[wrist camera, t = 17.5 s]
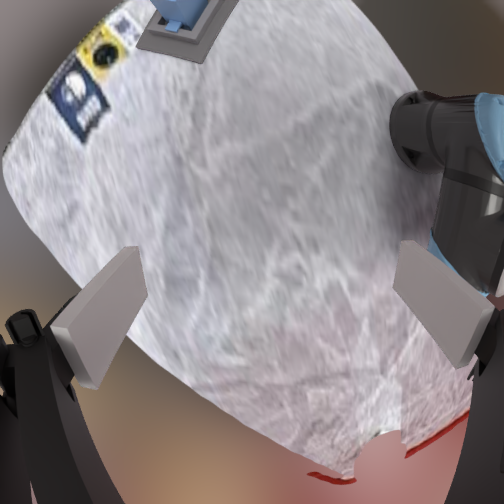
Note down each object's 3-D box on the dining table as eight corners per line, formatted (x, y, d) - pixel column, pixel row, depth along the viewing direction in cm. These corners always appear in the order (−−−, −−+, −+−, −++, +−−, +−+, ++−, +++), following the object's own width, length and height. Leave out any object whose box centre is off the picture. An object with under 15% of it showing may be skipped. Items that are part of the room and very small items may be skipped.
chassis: (180, -22, 27) (176, -31, 24) (244, -9, 29) (244, -19, 26) (137, 48, 33) (129, 42, 30) (202, 64, 35) (198, 58, 32)
